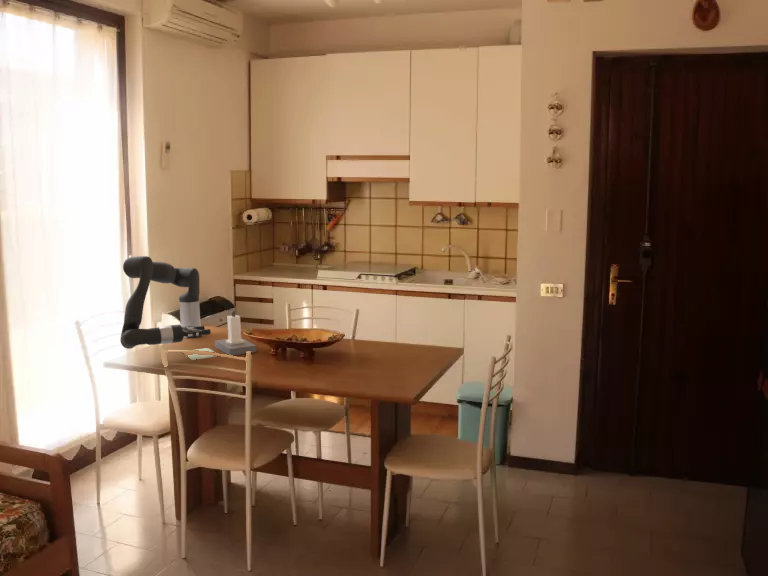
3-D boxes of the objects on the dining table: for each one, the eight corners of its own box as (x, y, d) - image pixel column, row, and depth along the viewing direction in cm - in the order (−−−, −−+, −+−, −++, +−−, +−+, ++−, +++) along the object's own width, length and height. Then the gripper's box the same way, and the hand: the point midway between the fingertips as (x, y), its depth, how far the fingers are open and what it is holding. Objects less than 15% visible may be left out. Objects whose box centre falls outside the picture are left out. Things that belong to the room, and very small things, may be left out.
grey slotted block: (215, 347, 352) (214, 338, 351) (240, 343, 358) (240, 335, 357) (229, 355, 335) (229, 347, 334) (256, 352, 341) (255, 343, 340)
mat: (181, 352, 342) (181, 351, 342) (207, 349, 348) (207, 347, 348) (192, 360, 328) (191, 358, 328) (219, 356, 334) (219, 354, 334)
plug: (225, 349, 347) (223, 310, 345) (239, 347, 351) (237, 309, 348) (230, 352, 342) (228, 312, 339) (245, 349, 345) (243, 311, 342)
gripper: (174, 328, 324) (212, 324, 332) (165, 323, 336) (201, 319, 344) (175, 346, 325) (212, 341, 333) (166, 340, 337) (202, 335, 345)
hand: (207, 329), depth 338 cm, fingers open, 8 cm apart
